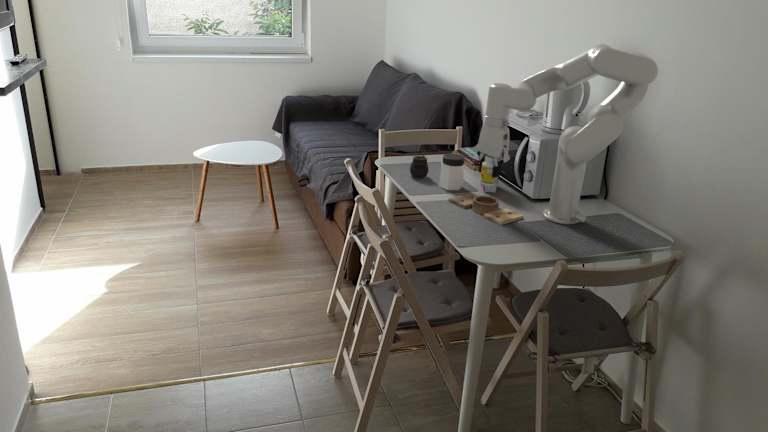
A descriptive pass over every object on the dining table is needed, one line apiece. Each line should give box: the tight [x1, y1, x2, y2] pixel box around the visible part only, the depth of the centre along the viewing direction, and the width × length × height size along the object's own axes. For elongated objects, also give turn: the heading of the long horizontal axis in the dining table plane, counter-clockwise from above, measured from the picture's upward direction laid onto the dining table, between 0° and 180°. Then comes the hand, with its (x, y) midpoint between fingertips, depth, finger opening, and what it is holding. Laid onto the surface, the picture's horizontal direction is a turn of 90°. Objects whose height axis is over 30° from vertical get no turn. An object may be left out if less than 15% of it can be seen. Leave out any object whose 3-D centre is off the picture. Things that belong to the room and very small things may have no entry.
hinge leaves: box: [448, 192, 524, 226], centre depth 220 cm, size 25×11×4 cm, turn 39°
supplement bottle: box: [479, 155, 496, 186], centre depth 215 cm, size 5×5×10 cm
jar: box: [438, 153, 466, 191], centre depth 238 cm, size 9×8×12 cm
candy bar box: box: [480, 159, 499, 194], centre depth 239 cm, size 11×5×16 cm, turn 179°
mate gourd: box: [409, 150, 429, 179], centre depth 248 cm, size 7×8×10 cm
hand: (488, 173), depth 216 cm, fingers closed on supplement bottle, 5 cm apart
